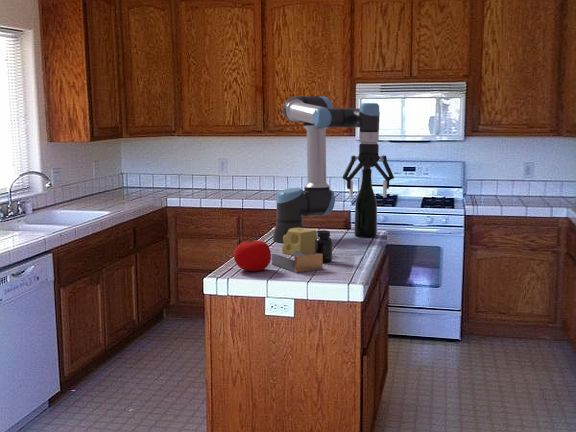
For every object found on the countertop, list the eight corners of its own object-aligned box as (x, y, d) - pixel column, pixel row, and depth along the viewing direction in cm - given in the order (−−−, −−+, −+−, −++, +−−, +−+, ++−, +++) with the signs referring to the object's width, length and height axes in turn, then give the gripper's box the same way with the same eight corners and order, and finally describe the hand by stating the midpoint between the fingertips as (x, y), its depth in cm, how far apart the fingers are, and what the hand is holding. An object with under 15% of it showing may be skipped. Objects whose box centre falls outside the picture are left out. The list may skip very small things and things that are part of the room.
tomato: (274, 273, 246) (274, 242, 244) (236, 275, 243) (235, 243, 241) (267, 266, 258) (267, 236, 256) (231, 267, 255) (231, 237, 253)
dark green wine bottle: (380, 237, 318) (381, 166, 313) (358, 238, 316) (360, 167, 311) (372, 233, 328) (373, 165, 323) (351, 234, 326) (352, 165, 321)
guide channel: (271, 264, 260) (271, 248, 260) (297, 261, 267) (297, 245, 266) (296, 273, 246) (296, 256, 245) (322, 269, 252) (322, 253, 251)
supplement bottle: (311, 260, 268) (311, 230, 266) (327, 259, 270) (327, 229, 269) (319, 264, 261) (319, 233, 260) (335, 262, 264) (335, 232, 262)
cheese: (281, 253, 281) (281, 229, 280) (299, 250, 289) (299, 226, 287) (300, 257, 274) (300, 232, 273) (318, 253, 282) (318, 229, 280)
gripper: (339, 143, 262) (338, 198, 265) (402, 143, 265) (401, 198, 268) (335, 142, 269) (334, 196, 272) (397, 142, 272) (396, 195, 275)
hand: (367, 197), depth 270 cm, fingers open, 13 cm apart
